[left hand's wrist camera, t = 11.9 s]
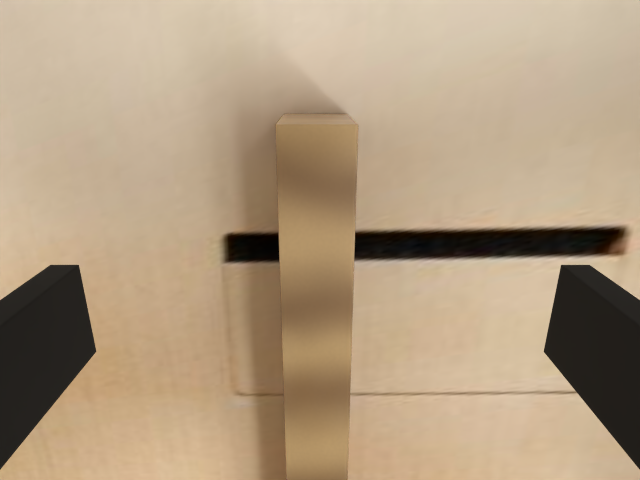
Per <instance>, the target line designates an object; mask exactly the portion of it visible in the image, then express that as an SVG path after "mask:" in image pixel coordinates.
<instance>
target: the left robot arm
mask: <svg viewBox="0 0 640 480" xmlns="http://www.w3.org/2000/svg"><path fill="white" fill-rule="evenodd" d="M95 352H96V348H95V343H94V338H93V333H92V328H91V323H90V318H89V313H88V308H87V304H86V299H85V294H84V289H83V284H82V279H81V274H80V269H79V265H50V266H48V267H47V268H46V269H44V270H43V271H41V272H40V273H38V274H37V275H36V276H34V277H33V278H31V279H30V280H28V281H27V282H26V283H24V284H23V285H21V286H20V287H18V288H17V289H16V290H14V291H13V292H11V293H10V294H9V295H7V296H6V297H4V298H3V299H1V300H0V469H1V468H2V467H3V465H4V464H5V463H6V462H7V461H8V459H9V458H10V457H11V456H12V454H13V453H14V452H15V451H16V449H17V448H18V447H19V446H20V445H21V443H22V442H23V441H24V440H25V438H26V437H27V436H28V435H29V434H30V432H31V431H32V430H33V429H34V427H35V426H36V425H37V424H38V422H39V421H40V420H41V419H42V418H43V416H44V415H45V414H46V413H47V411H48V410H49V409H50V408H51V406H52V405H53V404H54V403H55V402H56V400H57V399H58V398H59V397H60V395H61V394H62V393H63V392H64V390H65V389H66V388H67V387H68V386H69V384H70V383H71V382H72V381H73V379H74V378H75V377H76V376H77V374H78V373H79V372H80V371H81V370H82V368H83V367H84V366H85V365H86V363H87V362H88V361H89V360H90V359H91V357H92V356H93V355H94V354H95ZM544 352H545V354H546V355H547V356H548V357H549V359H550V360H551V361H552V362H553V363H554V365H555V366H556V367H557V368H558V370H559V371H560V372H561V373H562V374H563V376H564V377H565V378H566V379H567V381H568V382H569V383H570V384H571V386H572V387H573V388H574V389H575V390H576V392H577V393H578V394H579V395H580V397H581V398H582V399H583V400H584V402H585V403H586V404H587V405H588V406H589V408H590V409H591V410H592V411H593V413H594V414H595V415H596V416H597V418H598V419H599V420H600V421H601V422H602V424H603V425H604V426H605V427H606V429H607V430H608V431H609V432H610V434H611V435H612V436H613V437H614V438H615V440H616V441H617V442H618V443H619V445H620V446H621V447H622V448H623V449H624V451H625V452H626V453H627V454H628V456H629V457H630V458H631V459H632V461H633V462H634V463H635V464H636V465H637V467H638V468H639V469H640V300H639V299H637V298H636V297H634V296H633V295H631V294H630V293H629V292H627V291H626V290H624V289H623V288H622V287H620V286H619V285H617V284H616V283H614V282H613V281H612V280H610V279H609V278H607V277H606V276H604V275H603V274H602V273H600V272H599V271H597V270H596V269H594V268H593V267H592V266H590V265H561V269H560V274H559V279H558V284H557V289H556V294H555V299H554V304H553V308H552V313H551V318H550V323H549V328H548V333H547V338H546V343H545V348H544Z"/></svg>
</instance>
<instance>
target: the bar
mask: <svg viewBox="0 0 640 480" xmlns="http://www.w3.org/2000/svg"><path fill="white" fill-rule="evenodd" d="M275 130H276V162H277V195H278V227H279V259H280V291H281V323H282V356H283V388H284V420H285V452H286V480H347V477H348V444H349V412H350V379H351V346H352V314H353V281H354V248H355V215H356V183H357V150H358V124H357V123H356V122H355V121H354V120H353V119H352V118H351V117H350V116H349V115H348V114H284V115H283V116H282V117H281V118H280V120H279V121H278V122H277V123H276V125H275Z"/></svg>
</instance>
